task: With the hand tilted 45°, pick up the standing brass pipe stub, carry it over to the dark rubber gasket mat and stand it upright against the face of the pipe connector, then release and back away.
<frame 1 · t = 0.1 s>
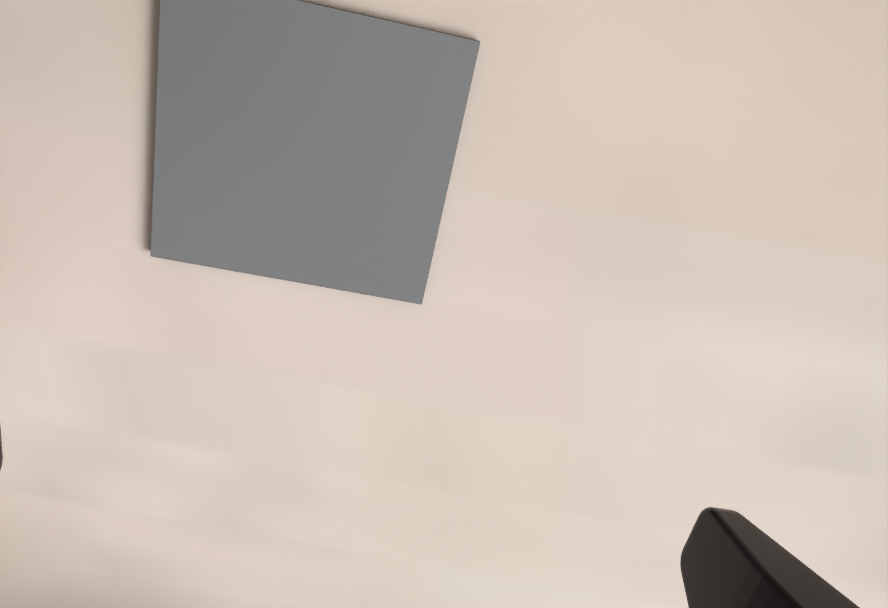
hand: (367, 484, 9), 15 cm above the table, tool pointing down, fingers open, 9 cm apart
gasket mat: (307, 153, 22), on the table
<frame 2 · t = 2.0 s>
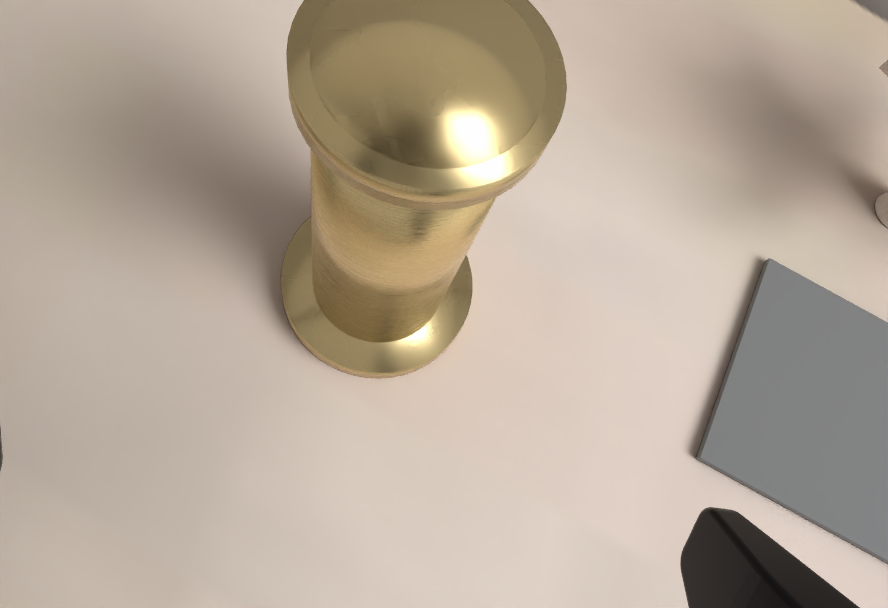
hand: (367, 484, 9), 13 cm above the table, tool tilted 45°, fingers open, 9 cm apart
gasket mat: (840, 412, 25), on the table
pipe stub: (377, 287, 24), on the table
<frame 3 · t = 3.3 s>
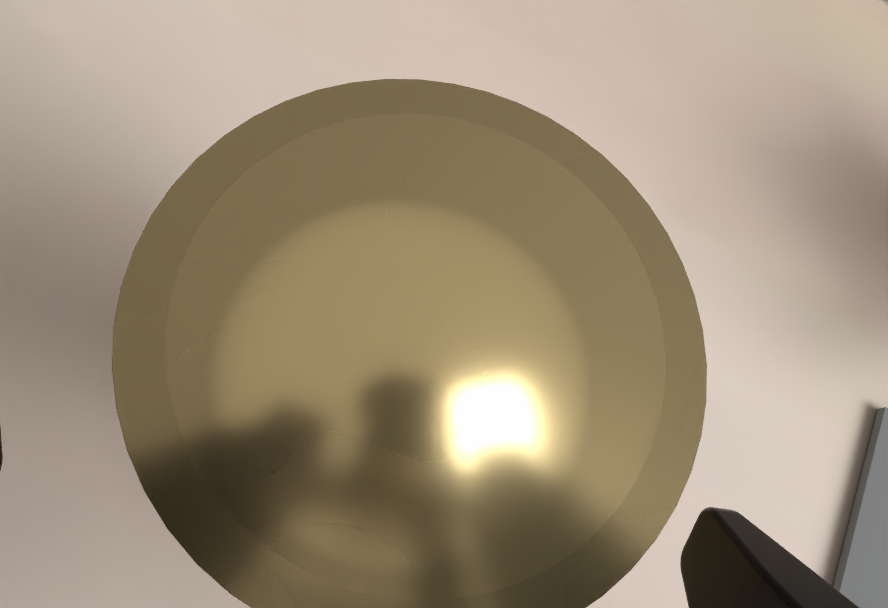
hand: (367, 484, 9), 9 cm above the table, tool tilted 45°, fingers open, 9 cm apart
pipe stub: (357, 470, 17), on the table
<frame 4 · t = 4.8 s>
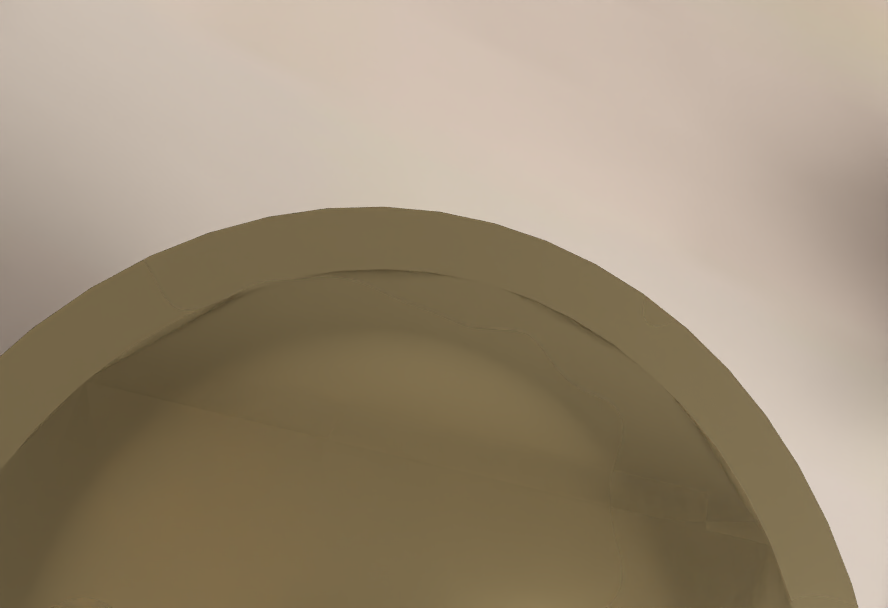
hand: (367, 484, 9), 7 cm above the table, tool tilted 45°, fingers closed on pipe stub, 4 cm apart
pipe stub: (334, 577, 14), on the table, touching gripper
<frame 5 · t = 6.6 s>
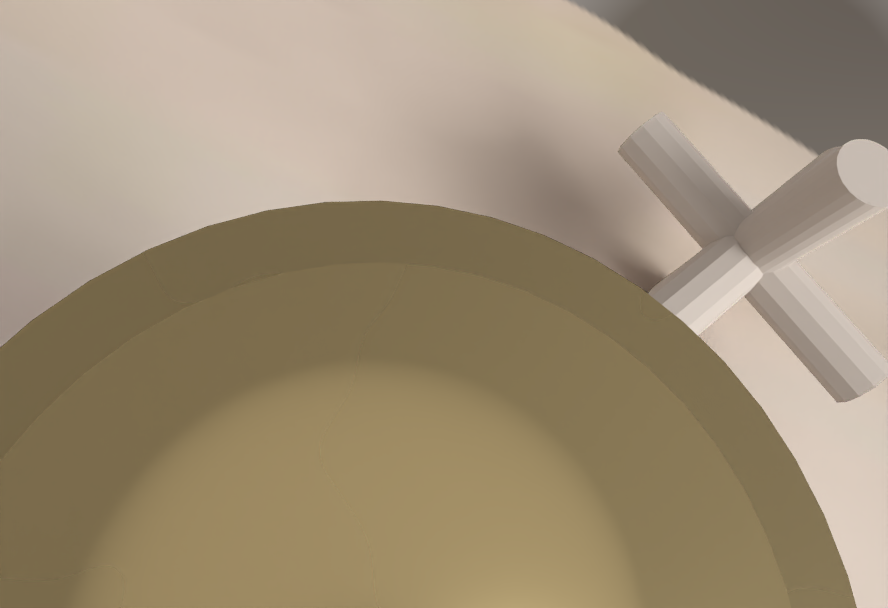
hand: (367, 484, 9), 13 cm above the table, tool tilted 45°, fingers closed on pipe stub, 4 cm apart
pipe connector: (667, 306, 26), on the table
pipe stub: (334, 576, 14), point 7 cm above the table, touching gripper
when the fingers open (8 cm above the table, at t = 8.8 s): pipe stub stays where it is, resting on gasket mat.
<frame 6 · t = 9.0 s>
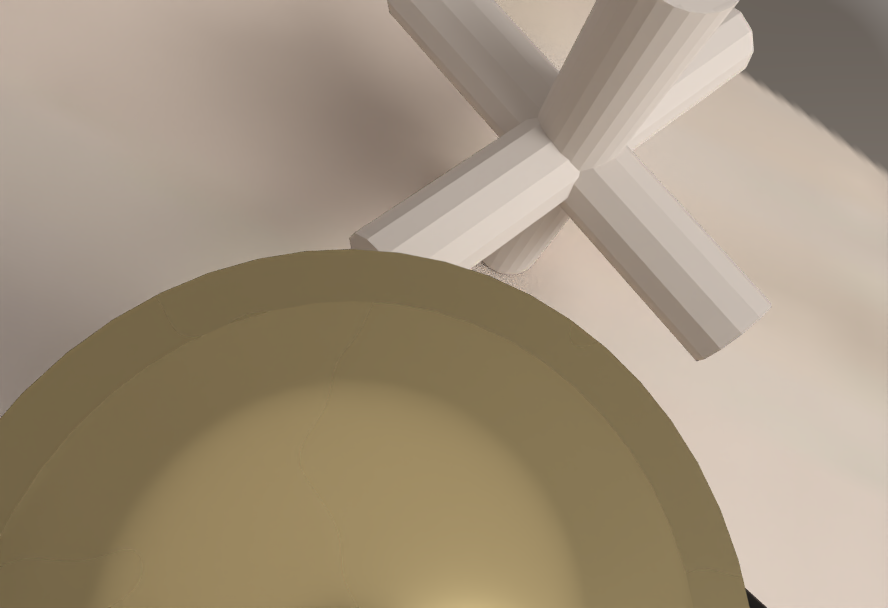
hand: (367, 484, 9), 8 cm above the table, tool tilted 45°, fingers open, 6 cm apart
pipe connector: (505, 247, 19), on the table
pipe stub: (332, 577, 15), resting on gasket mat
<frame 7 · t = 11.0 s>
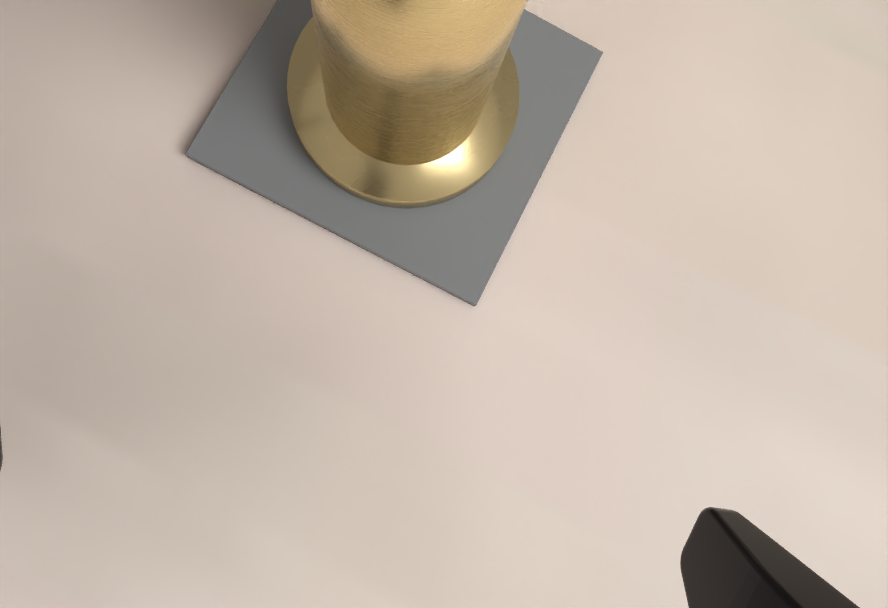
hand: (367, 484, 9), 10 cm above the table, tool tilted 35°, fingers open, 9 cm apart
gasket mat: (402, 105, 20), on the table
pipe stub: (403, 99, 20), resting on gasket mat
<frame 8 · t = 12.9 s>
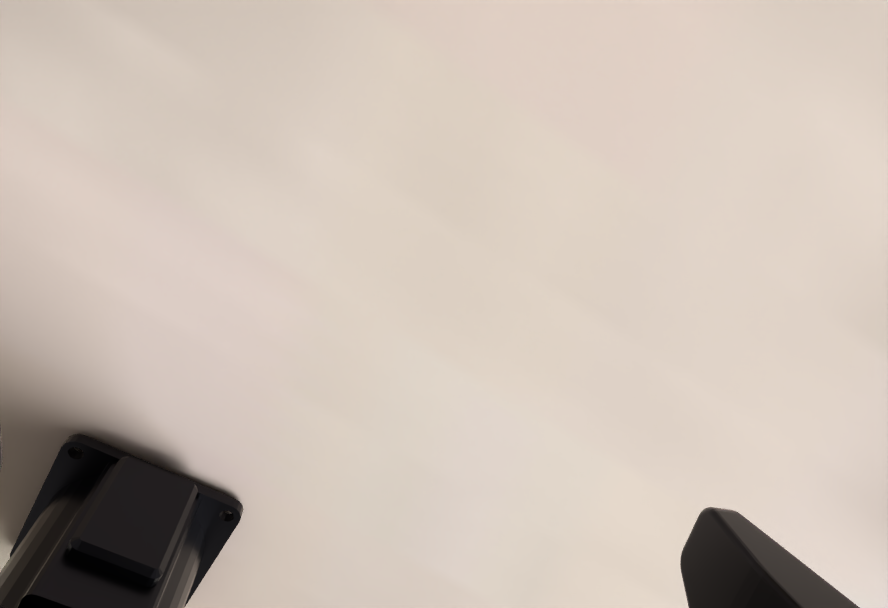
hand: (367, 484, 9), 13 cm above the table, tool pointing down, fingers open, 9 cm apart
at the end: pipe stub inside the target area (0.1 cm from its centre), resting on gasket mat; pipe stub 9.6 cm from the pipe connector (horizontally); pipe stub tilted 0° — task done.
